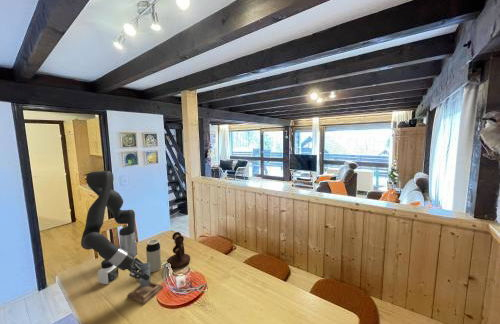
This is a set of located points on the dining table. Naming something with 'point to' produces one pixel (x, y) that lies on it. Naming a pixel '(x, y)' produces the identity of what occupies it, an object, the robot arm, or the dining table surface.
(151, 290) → the walnut socket
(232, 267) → the dining table surface
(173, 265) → the scroll
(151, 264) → the travel mug
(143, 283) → the blue-grey dome-topped cylinder
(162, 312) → the dining table surface
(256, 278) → the dining table surface
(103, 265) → the medicine bottle
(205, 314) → the dining table surface
